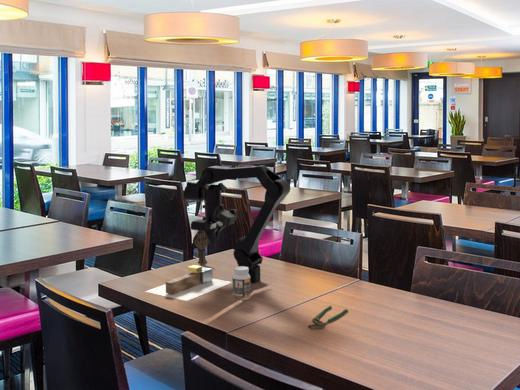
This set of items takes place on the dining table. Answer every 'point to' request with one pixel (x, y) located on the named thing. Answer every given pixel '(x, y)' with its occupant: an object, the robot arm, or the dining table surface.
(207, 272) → the hinge block
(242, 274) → the pill bottle
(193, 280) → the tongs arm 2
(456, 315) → the dining table surface
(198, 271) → the block
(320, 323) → the pliers
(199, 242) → the figurine
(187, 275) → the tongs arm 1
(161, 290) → the board
